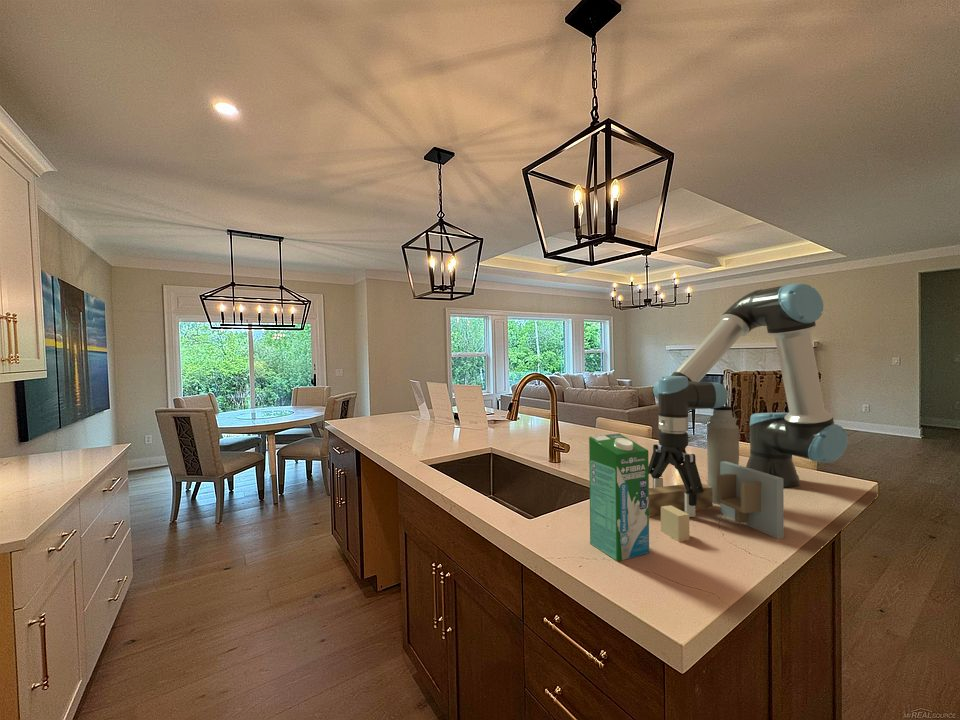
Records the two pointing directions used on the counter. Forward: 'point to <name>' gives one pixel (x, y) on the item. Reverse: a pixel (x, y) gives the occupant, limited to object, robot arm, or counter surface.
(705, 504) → the brown wooden block
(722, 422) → the thermos bottle
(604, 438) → the milk carton
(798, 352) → the robot arm
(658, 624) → the counter surface
